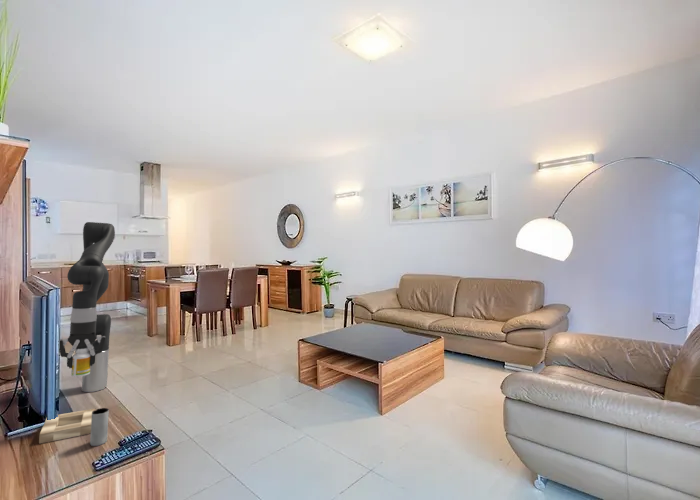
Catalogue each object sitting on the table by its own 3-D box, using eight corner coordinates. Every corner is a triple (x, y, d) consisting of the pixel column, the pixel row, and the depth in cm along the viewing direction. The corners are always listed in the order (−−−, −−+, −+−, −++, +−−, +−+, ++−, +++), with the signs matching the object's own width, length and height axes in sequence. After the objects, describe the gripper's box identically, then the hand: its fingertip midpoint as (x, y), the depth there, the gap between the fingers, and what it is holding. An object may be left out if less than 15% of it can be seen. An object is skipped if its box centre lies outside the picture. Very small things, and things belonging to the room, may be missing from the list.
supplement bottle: (93, 372, 129) (95, 346, 130) (81, 377, 124) (82, 350, 124) (80, 372, 130) (81, 345, 130) (67, 376, 124) (68, 349, 125)
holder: (46, 424, 124) (47, 416, 124) (95, 416, 131) (95, 408, 131) (39, 443, 112) (39, 434, 112) (92, 432, 120) (93, 424, 120)
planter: (108, 437, 117) (110, 407, 117) (104, 444, 113) (106, 413, 113) (92, 439, 115) (94, 408, 116) (88, 447, 111) (89, 414, 111)
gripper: (107, 317, 135) (105, 361, 134) (59, 319, 127) (56, 366, 126) (107, 320, 128) (104, 366, 128) (56, 323, 120) (53, 372, 120)
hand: (81, 366), depth 127 cm, fingers closed on supplement bottle, 5 cm apart
